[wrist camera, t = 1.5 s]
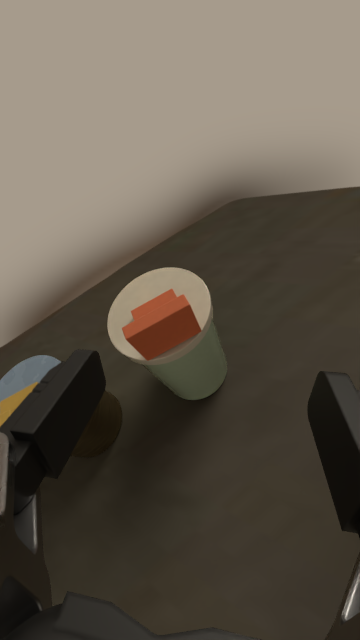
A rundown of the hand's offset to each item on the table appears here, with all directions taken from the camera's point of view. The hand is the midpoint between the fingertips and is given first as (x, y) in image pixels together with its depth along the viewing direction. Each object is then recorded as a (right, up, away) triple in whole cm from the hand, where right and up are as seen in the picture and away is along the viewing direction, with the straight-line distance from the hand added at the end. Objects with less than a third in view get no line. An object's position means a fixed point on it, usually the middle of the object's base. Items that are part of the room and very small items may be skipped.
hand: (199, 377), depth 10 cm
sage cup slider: (-2, +2, +10) cm, 10 cm away
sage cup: (+1, -4, +22) cm, 22 cm away
